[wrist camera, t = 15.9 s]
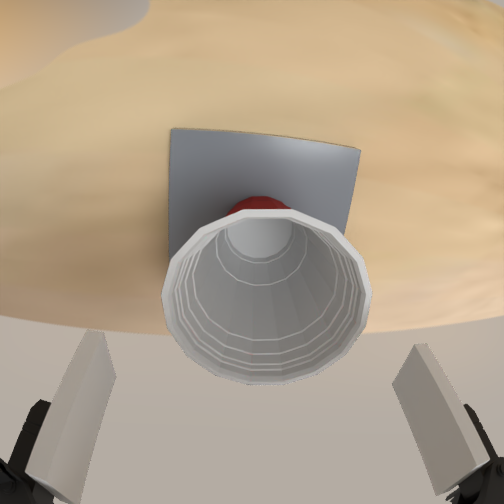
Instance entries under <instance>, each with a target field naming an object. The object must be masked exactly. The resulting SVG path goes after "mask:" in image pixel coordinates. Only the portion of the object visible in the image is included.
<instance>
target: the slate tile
mask: <svg viewBox="0 0 504 504" xmlns="http://www.w3.org/2000/svg"><path fill="white" fill-rule="evenodd" d="M360 153H361V150H360V149H357V148H354V147H348V146H343V145H337V144H332V143H326V142H320V141H313V140H306V139H300V138H292V137H285V136H276V135H268V134H258V133H248V132H237V131H224V130H208V129H187V128H174V129H171V146H170V171H169V264H170V261H171V259H172V258H173V256H174V255H175V254H176V253H177V252H178V251H179V250H180V249H181V248H182V247H183V245H184V244H185V243H186V242H187V241H188V240H189V239H190V238H191V237H192V236H193V235H194V233H195V232H196V231H197V230H198V229H199V228H201V227H203V226H205V225H208V224H210V223H212V222H215V221H217V220H219V219H222V218H224V217H225V216H226V215H227V213H228V212H229V211H230V210H231V209H232V208H233V207H234V206H235V205H236V204H237V203H238V202H240V201H243V200H245V199H247V198H250V197H252V196H268V197H271V198H274V199H276V200H279V201H281V202H282V203H284V204H285V205H286V206H288V207H290V208H291V209H293V210H296V211H298V212H301V213H303V214H305V215H308V216H310V217H313V218H315V219H317V220H320V221H322V222H324V223H327V224H329V225H331V226H334V227H336V228H337V229H338V230H339V232H340V233H341V234H342V235H343V236H344V232H345V228H346V223H347V219H348V214H349V210H350V205H351V200H352V196H353V191H354V186H355V181H356V175H357V170H358V165H359V159H360Z"/></svg>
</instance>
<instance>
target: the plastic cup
mask: <svg viewBox="0 0 504 504" xmlns="http://www.w3.org/2000/svg"><path fill="white" fill-rule="evenodd" d="M161 298H162V303H163V309H164V314H165V319H166V324H167V329H168V330H169V332H170V333H171V334H172V336H173V337H174V339H175V340H176V342H177V343H178V344H179V346H180V347H181V349H182V350H183V351H184V353H185V354H186V356H188V357H189V358H190V359H192V360H193V361H195V362H196V363H198V364H199V365H200V366H202V367H204V368H205V369H206V370H208V371H209V372H211V373H212V374H214V375H215V376H219V377H222V378H225V379H229V380H232V381H236V382H240V383H243V384H246V385H285V384H288V383H292V382H295V381H298V380H302V379H305V378H308V377H311V376H314V375H317V374H319V373H320V372H322V371H323V370H325V369H326V368H328V367H329V366H331V365H332V364H333V363H335V362H336V361H338V360H339V359H340V358H342V357H343V356H345V355H346V354H347V352H348V351H349V350H350V348H351V347H352V345H353V344H354V342H355V341H356V340H357V338H358V337H359V336H360V334H361V333H362V331H363V330H364V328H365V327H366V322H367V318H368V313H369V308H370V303H371V298H372V289H371V285H370V281H369V278H368V274H367V270H366V267H365V263H364V259H363V257H362V256H361V255H360V254H359V253H358V251H357V250H356V249H355V248H354V247H353V246H352V245H351V244H350V243H349V241H348V240H347V239H346V238H345V237H344V236H343V235H342V234H341V233H340V232H339V230H338V229H337V228H336V227H334V226H331V225H329V224H327V223H324V222H322V221H320V220H317V219H315V218H313V217H310V216H308V215H305V214H303V213H301V212H298V211H296V210H293V209H291V208H290V207H288V206H286V205H285V204H284V203H282V202H281V201H279V200H276V199H274V198H271V197H268V196H252V197H250V198H247V199H245V200H243V201H240V202H238V203H237V204H236V205H235V206H234V207H233V208H232V209H231V210H230V211H229V212H228V213H227V215H226V216H225V217H224V218H222V219H219V220H217V221H215V222H212V223H210V224H208V225H205V226H203V227H201V228H199V229H198V230H197V231H196V232H195V233H194V235H193V236H192V237H191V238H190V239H189V240H188V241H187V242H186V243H185V244H184V245H183V247H182V248H181V249H180V250H179V251H178V252H177V253H176V254H175V255H174V256H173V258H172V259H171V261H170V264H169V268H168V271H167V275H166V278H165V282H164V285H163V289H162V293H161Z"/></svg>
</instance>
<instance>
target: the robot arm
mask: <svg viewBox="0 0 504 504" xmlns="http://www.w3.org/2000/svg"><path fill="white" fill-rule="evenodd" d="M115 379H116V375H115V371H114V368H113V364H112V361H111V358H110V354H109V350H108V347H107V343H106V339H105V335H104V332H98V331H92V330H87V331H86V333H85V335H84V337H83V339H82V341H81V342H80V345H79V346H78V348H77V350H76V352H75V354H74V356H73V359H72V360H71V362H70V364H69V366H68V368H67V371H66V373H65V375H64V377H63V379H62V381H61V383H60V385H59V388H58V390H57V392H56V394H55V396H54V399H53V401H52V403H50V402H47V401H44V400H41V399H40V400H39V401H38V402H37V403H36V404H35V405H34V406H33V407H32V408H31V409H30V412H29V414H28V416H27V419H26V422H25V423H24V425H23V428H22V431H21V432H20V435H19V437H18V439H17V442H16V445H15V447H14V450H13V452H12V455H11V457H10V460H9V462H8V464H7V463H5V462H4V461H3V460H2V459H1V458H0V504H54V503H53V499H54V496H55V497H56V498H58V499H59V500H60V501H63V502H65V503H68V504H80V501H81V497H82V493H83V488H84V484H85V480H86V476H87V472H88V468H89V464H90V461H91V457H92V453H93V450H94V446H95V442H96V439H97V435H98V432H99V429H100V425H101V422H102V419H103V416H104V412H105V409H106V406H107V403H108V399H109V397H110V394H111V391H112V387H113V385H114V381H115ZM392 386H393V388H394V390H395V392H396V395H397V397H398V399H399V401H400V404H401V406H402V409H403V411H404V414H405V416H406V418H407V421H408V423H409V426H410V428H411V431H412V433H413V436H414V438H415V441H416V443H417V446H418V448H419V451H420V453H421V456H422V458H423V461H424V464H425V466H426V469H427V472H428V475H429V477H430V480H431V483H432V486H433V489H434V492H435V495H436V496H438V495H440V494H442V493H445V492H448V491H450V490H451V489H453V488H454V487H455V486H457V485H459V488H458V489H457V490H456V491H454V492H453V493H451V494H450V495H449V496H447V498H446V501H448V500H449V499H451V498H452V497H454V498H453V499H452V500H451V501H450V502H452V504H504V457H498V456H497V454H496V452H495V450H494V448H493V446H492V444H491V442H490V440H489V438H488V436H487V434H486V432H485V430H483V426H482V424H481V423H480V422H479V419H478V417H477V415H476V413H475V411H474V410H473V409H472V408H471V407H470V406H469V405H468V404H465V405H463V404H462V402H461V400H460V399H459V397H458V395H457V393H456V392H455V390H454V388H453V386H452V384H451V383H450V381H449V379H448V378H447V376H446V374H445V372H444V371H443V369H442V367H441V366H440V364H439V362H438V361H437V359H436V357H435V356H434V354H433V352H432V351H431V349H430V348H429V346H428V344H427V343H425V344H415V345H414V346H413V348H412V350H411V352H410V353H409V355H408V357H407V359H406V361H405V363H404V364H403V366H402V368H401V369H400V371H399V373H398V375H397V377H396V378H395V380H394V381H393V383H392Z"/></svg>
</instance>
